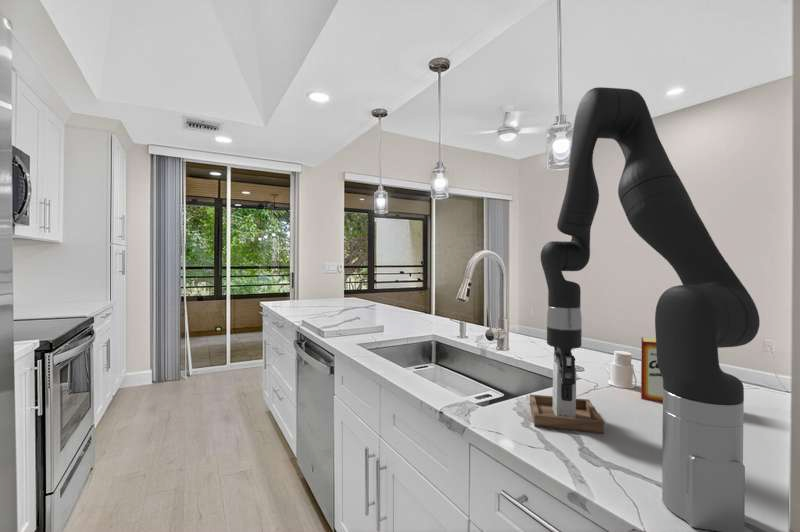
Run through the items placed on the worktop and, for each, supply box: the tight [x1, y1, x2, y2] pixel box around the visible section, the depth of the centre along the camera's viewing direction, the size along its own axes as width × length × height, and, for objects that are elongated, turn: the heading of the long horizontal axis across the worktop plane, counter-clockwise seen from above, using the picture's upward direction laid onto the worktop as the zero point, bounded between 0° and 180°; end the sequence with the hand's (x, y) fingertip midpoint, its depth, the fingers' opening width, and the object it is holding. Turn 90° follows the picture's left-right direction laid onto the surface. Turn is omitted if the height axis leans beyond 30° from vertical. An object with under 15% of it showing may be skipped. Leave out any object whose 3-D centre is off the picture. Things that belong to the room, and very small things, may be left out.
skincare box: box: [552, 361, 577, 418], centre depth 89 cm, size 6×4×12 cm
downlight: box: [606, 350, 637, 390], centre depth 113 cm, size 8×7×10 cm
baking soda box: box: [640, 337, 663, 403], centre depth 102 cm, size 10×6×16 cm
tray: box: [529, 393, 605, 435], centre depth 89 cm, size 14×14×2 cm
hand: (563, 394), depth 89 cm, fingers open, 8 cm apart
